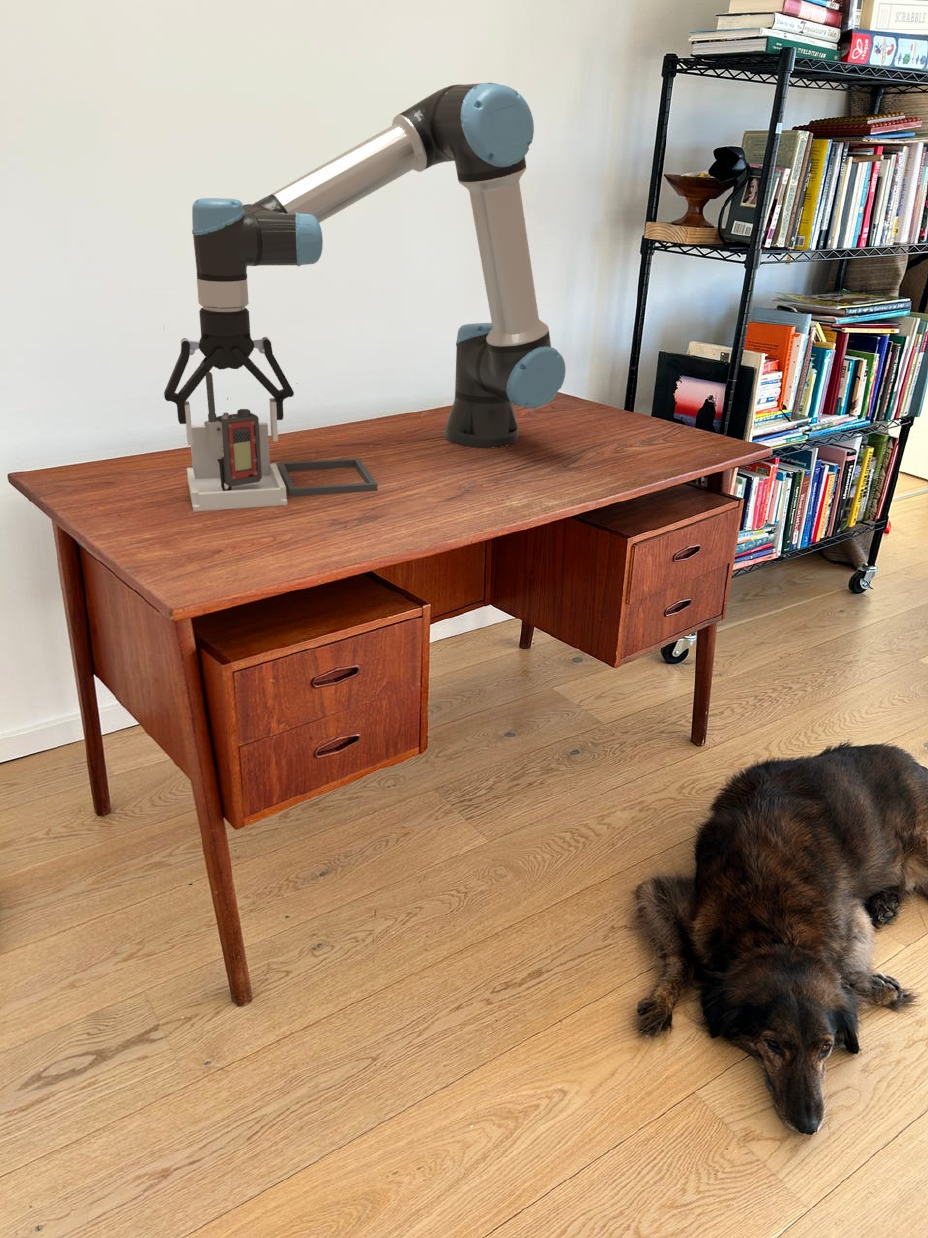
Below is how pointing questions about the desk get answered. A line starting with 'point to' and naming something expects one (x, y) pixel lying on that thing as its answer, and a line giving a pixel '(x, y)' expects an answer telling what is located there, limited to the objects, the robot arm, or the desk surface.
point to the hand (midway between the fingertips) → (232, 441)
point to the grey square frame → (328, 489)
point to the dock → (210, 492)
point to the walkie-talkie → (233, 443)
